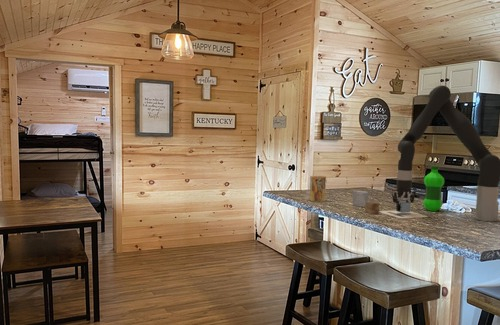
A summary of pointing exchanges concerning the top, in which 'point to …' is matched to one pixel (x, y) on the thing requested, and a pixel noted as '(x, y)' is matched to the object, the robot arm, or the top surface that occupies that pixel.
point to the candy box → (317, 188)
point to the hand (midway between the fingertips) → (402, 210)
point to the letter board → (403, 214)
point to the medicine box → (360, 198)
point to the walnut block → (372, 207)
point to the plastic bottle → (433, 189)
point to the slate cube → (404, 207)
